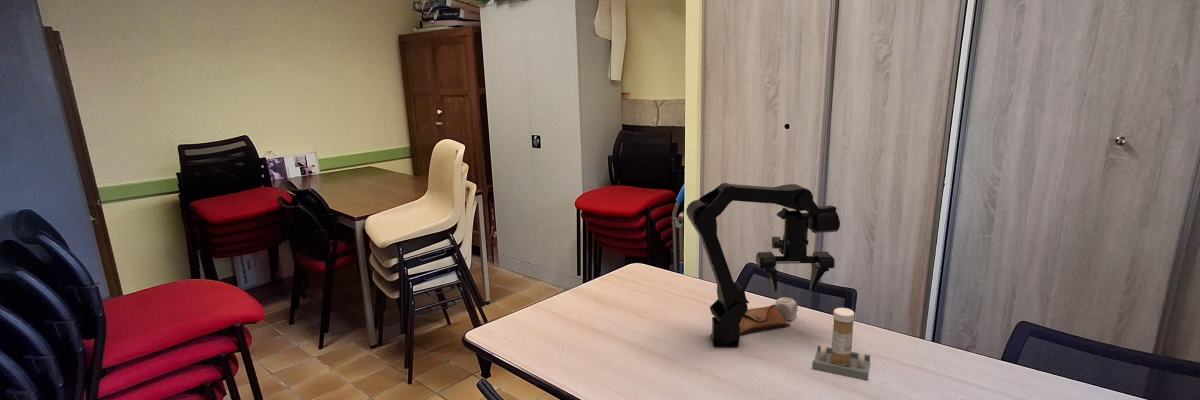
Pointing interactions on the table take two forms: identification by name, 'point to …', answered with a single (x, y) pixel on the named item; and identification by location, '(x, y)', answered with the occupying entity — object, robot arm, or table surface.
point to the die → (787, 308)
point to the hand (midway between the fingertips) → (793, 290)
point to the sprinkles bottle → (842, 336)
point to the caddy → (855, 369)
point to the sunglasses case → (761, 319)
